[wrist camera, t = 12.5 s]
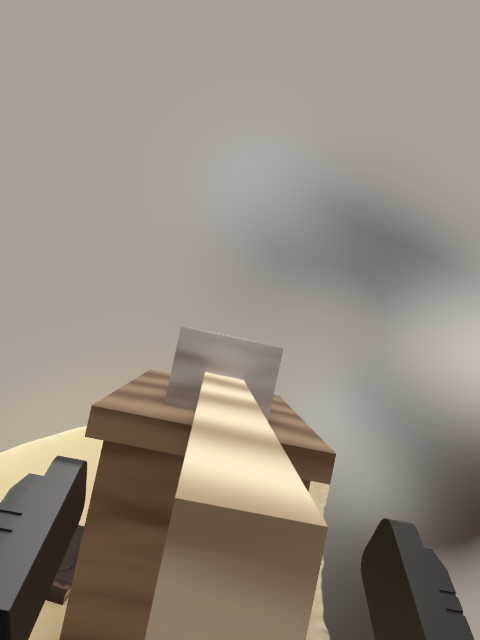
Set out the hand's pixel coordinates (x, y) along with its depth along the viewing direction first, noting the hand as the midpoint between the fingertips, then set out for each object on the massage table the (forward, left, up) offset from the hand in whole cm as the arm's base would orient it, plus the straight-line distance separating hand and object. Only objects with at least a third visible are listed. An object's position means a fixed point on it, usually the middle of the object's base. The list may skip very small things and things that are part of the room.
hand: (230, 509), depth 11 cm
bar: (-6, +11, -2) cm, 13 cm away
